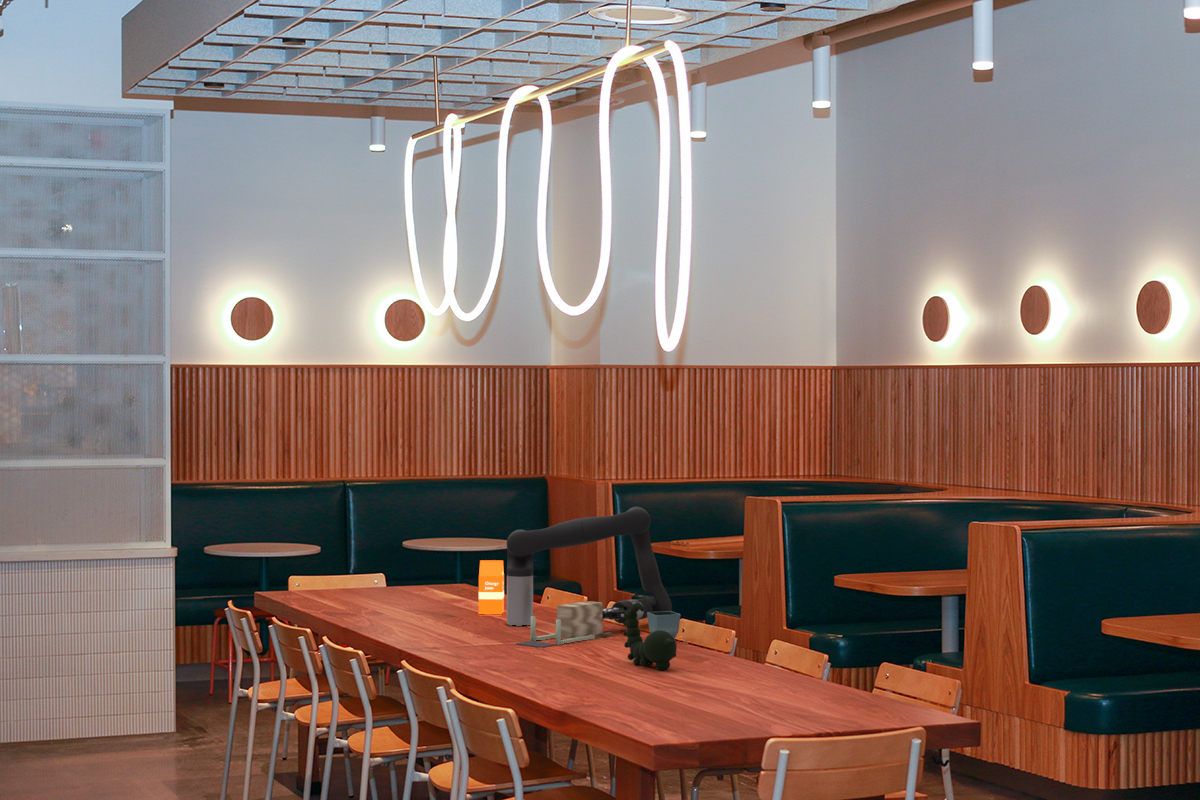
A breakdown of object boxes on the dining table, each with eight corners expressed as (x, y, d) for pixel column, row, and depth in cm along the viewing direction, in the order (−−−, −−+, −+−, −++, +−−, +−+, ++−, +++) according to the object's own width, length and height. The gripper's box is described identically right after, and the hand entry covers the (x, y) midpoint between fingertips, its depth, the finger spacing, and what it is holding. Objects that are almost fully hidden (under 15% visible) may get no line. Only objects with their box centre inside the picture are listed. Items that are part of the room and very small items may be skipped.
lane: (583, 632, 464) (583, 628, 464) (612, 636, 456) (612, 632, 456) (566, 635, 457) (566, 631, 457) (594, 639, 449) (594, 635, 449)
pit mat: (530, 641, 443) (530, 640, 443) (556, 645, 436) (556, 644, 436) (515, 644, 437) (515, 643, 437) (541, 647, 430) (541, 646, 430)
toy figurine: (616, 667, 404) (661, 673, 382) (614, 603, 406) (658, 604, 384) (644, 665, 409) (689, 670, 387) (641, 601, 411) (686, 602, 389)
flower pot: (646, 639, 449) (646, 611, 449) (671, 638, 452) (671, 610, 452) (655, 643, 441) (655, 615, 441) (681, 642, 443) (681, 614, 444)
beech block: (588, 633, 460) (588, 601, 461) (602, 635, 457) (602, 602, 457) (557, 639, 448) (557, 605, 448) (570, 641, 444) (570, 607, 445)
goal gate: (566, 635, 457) (566, 611, 457) (594, 639, 449) (594, 614, 449) (529, 641, 443) (529, 616, 444) (558, 645, 435) (558, 620, 435)
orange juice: (502, 615, 506) (502, 561, 507) (478, 615, 507) (478, 561, 507) (504, 612, 514) (504, 559, 515) (480, 612, 514) (480, 559, 515)
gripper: (612, 598, 476) (580, 603, 463) (642, 601, 468) (610, 606, 455) (612, 620, 476) (580, 625, 463) (642, 623, 468) (610, 629, 454)
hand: (595, 616), depth 459 cm, fingers closed
